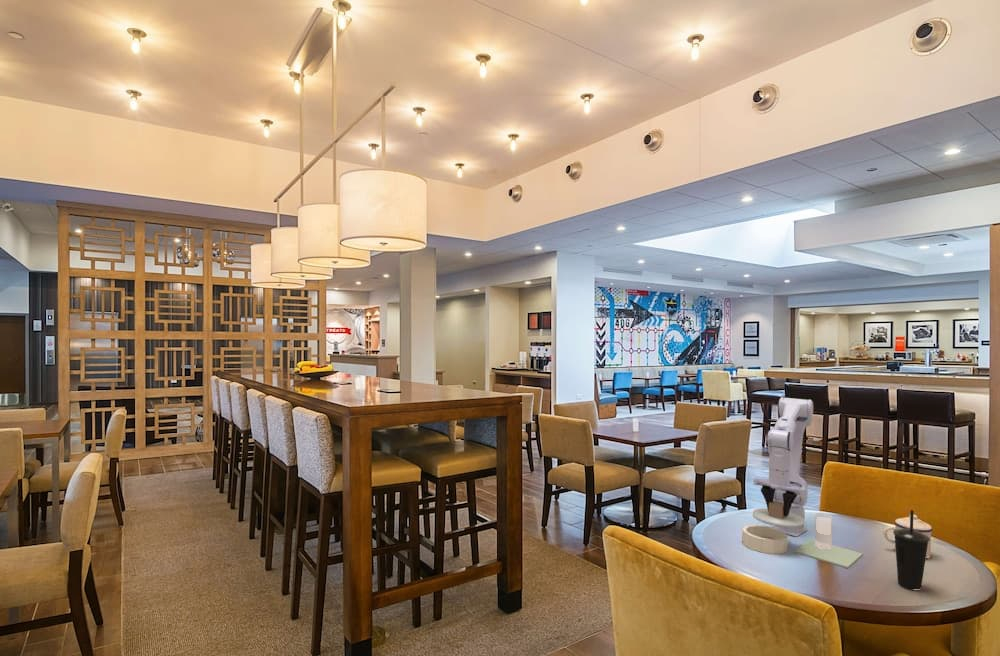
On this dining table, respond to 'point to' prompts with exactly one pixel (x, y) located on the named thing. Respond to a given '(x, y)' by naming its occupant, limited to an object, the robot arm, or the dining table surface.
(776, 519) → the cover
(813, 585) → the dining table surface
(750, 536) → the bowl
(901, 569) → the drinking cup
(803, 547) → the mat
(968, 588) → the dining table surface
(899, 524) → the teacup with lid
